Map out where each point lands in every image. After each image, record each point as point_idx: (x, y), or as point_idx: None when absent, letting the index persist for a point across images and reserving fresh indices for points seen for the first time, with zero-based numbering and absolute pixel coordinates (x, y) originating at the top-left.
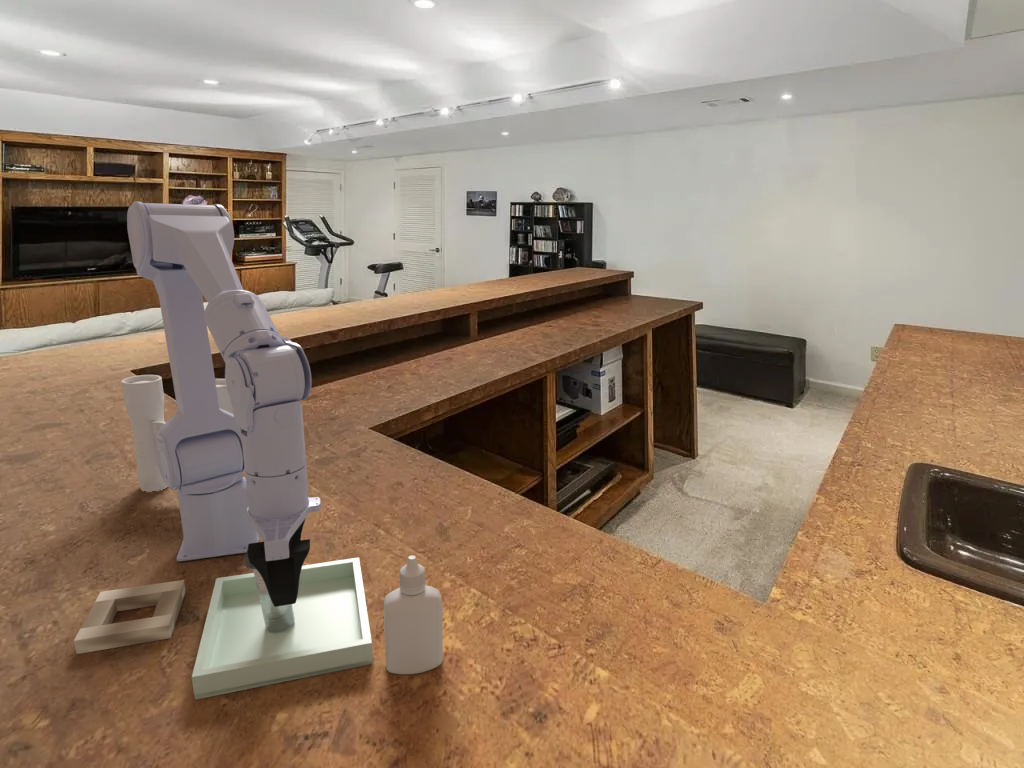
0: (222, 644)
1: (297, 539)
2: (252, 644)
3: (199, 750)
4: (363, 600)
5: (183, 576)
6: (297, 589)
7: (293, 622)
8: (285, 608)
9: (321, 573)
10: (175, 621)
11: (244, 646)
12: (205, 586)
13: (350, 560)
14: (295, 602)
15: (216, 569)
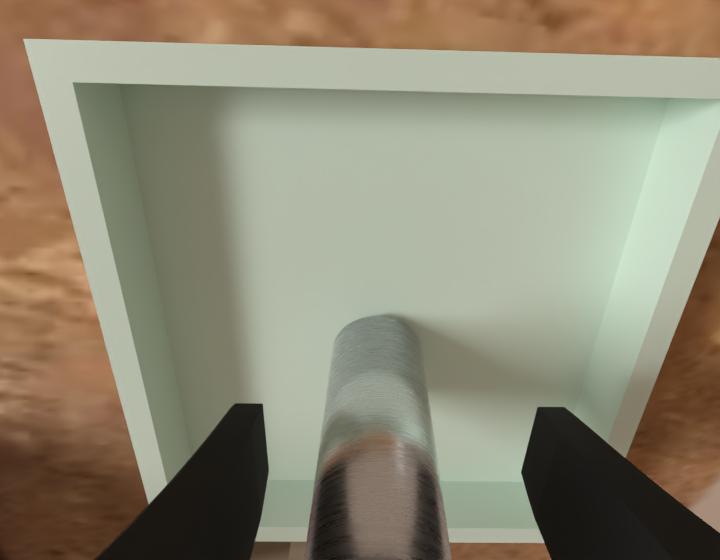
0: None
1: (200, 544)
2: (441, 409)
3: (711, 464)
4: (451, 61)
5: (74, 551)
6: (623, 458)
7: (399, 322)
8: (421, 382)
9: (129, 232)
10: (275, 545)
11: (441, 425)
12: (126, 509)
13: (57, 94)
14: (564, 408)
15: (39, 497)
